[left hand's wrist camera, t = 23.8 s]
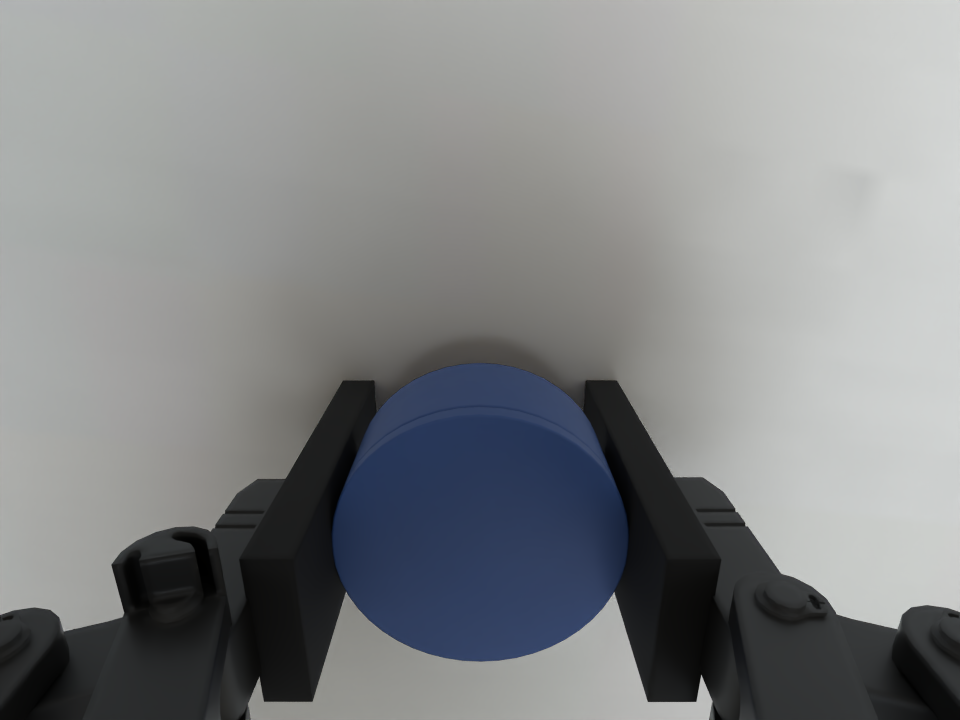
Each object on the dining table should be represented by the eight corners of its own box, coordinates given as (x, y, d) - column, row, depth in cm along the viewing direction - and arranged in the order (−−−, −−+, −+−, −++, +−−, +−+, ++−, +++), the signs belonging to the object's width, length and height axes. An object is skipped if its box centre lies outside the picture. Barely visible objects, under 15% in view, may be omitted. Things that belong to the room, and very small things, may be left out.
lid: (318, 513, 13) (283, 594, 11) (429, 315, 11) (417, 360, 9) (521, 606, 14) (530, 698, 11) (651, 434, 12) (690, 502, 10)
